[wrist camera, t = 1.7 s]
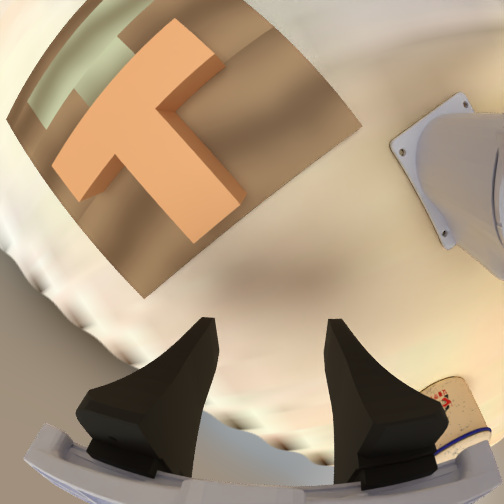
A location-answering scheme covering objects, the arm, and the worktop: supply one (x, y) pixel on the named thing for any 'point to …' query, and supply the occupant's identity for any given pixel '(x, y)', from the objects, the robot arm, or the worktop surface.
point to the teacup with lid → (457, 418)
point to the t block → (154, 135)
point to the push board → (191, 112)
